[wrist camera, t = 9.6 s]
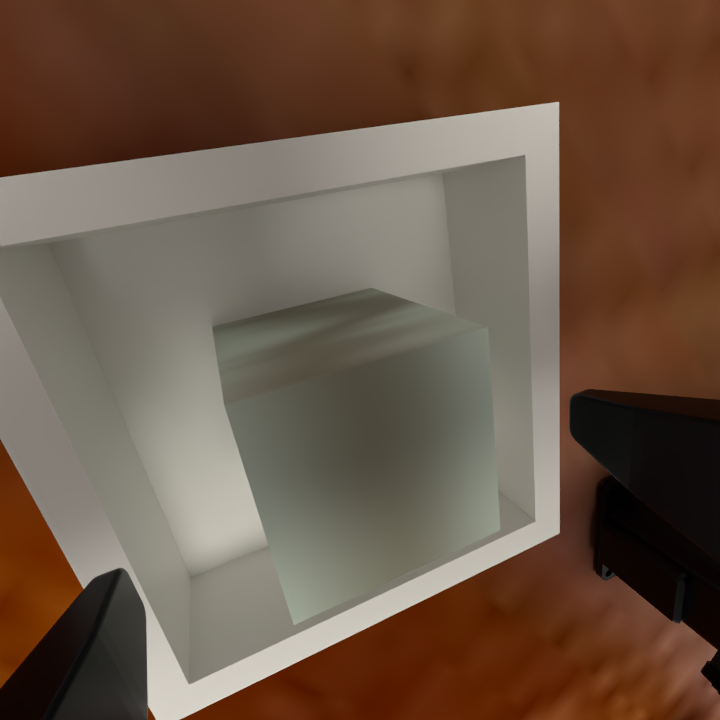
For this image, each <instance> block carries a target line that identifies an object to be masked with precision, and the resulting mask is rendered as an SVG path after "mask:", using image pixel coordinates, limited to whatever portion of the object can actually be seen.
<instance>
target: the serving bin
mask: <svg viewBox="0 0 720 720" xmlns="http://www.w3.org/2000/svg"><path fill="white" fill-rule="evenodd" d="M368 288H374V289H377V290H380V291H383V292H386V293H389V294H392V295H395V296H398V297H400V298H403V299H406V300H409V301H412V302H415V303H418V304H421V305H424V306H427V307H430V308H433V309H436V310H439V311H442V312H445V313H448V314H451V315H454V316H457V317H460V318H463V319H466V320H469V321H472V322H475V323H478V324H481V325H484V326H487V327H488V333H489V350H490V366H491V382H492V399H493V415H494V431H495V448H496V464H497V481H498V497H499V513H500V530H499V531H497V532H495V533H493V534H491V535H489V536H486V537H484V538H482V539H480V540H478V541H476V542H473V543H471V544H469V545H467V546H465V547H462V548H460V549H458V550H456V551H454V552H452V553H449V554H447V555H445V556H443V557H441V558H439V559H436V560H434V561H432V562H430V563H428V564H426V565H423V566H421V567H419V568H417V569H415V570H413V571H410V572H408V573H406V574H404V575H402V576H399V577H397V578H395V579H393V580H391V581H389V582H386V583H384V584H382V585H380V586H378V587H376V588H373V589H371V590H369V591H367V592H365V593H363V594H360V595H358V596H356V597H354V598H352V599H350V600H347V601H345V602H343V603H341V604H339V605H336V606H334V607H332V608H330V609H328V610H326V611H323V612H321V613H319V614H317V615H315V616H313V617H310V618H308V619H306V620H304V621H302V622H300V623H297V624H295V625H294V624H293V621H292V618H291V615H290V611H289V608H288V605H287V602H286V599H285V596H284V592H283V589H282V586H281V583H280V580H279V577H278V574H277V570H276V567H275V564H274V561H273V558H272V555H271V551H270V548H269V545H268V542H267V539H266V536H265V533H264V529H263V526H262V523H261V520H260V517H259V514H258V510H257V507H256V504H255V501H254V498H253V495H252V491H251V488H250V485H249V482H248V479H247V476H246V473H245V469H244V466H243V463H242V460H241V457H240V454H239V450H238V447H237V444H236V441H235V438H234V435H233V432H232V428H231V425H230V422H229V419H228V416H227V413H226V409H225V406H224V401H223V394H222V388H221V381H220V375H219V369H218V362H217V356H216V349H215V343H214V336H213V330H212V327H213V326H217V325H221V324H225V323H229V322H233V321H237V320H241V319H246V318H250V317H254V316H258V315H262V314H266V313H270V312H274V311H278V310H282V309H286V308H291V307H295V306H299V305H303V304H307V303H311V302H315V301H319V300H323V299H327V298H331V297H336V296H340V295H344V294H348V293H352V292H356V291H360V290H364V289H368ZM0 439H1V441H2V443H3V445H4V447H5V448H6V450H7V452H8V454H9V456H10V457H11V459H12V461H13V463H14V465H15V466H16V468H17V470H18V472H19V474H20V475H21V477H22V479H23V481H24V483H25V484H26V486H27V488H28V490H29V492H30V493H31V495H32V497H33V499H34V501H35V502H36V504H37V506H38V508H39V510H40V511H41V513H42V515H43V517H44V519H45V520H46V522H47V524H48V526H49V528H50V529H51V531H52V533H53V535H54V537H55V538H56V540H57V542H58V544H59V546H60V547H61V549H62V551H63V553H64V555H65V556H66V558H67V560H68V562H69V564H70V565H71V567H72V569H73V571H74V573H75V574H76V576H77V578H78V580H79V582H80V583H81V585H82V587H83V589H84V588H85V587H86V586H87V585H88V584H89V583H90V581H91V580H92V579H93V578H95V577H96V576H99V575H101V574H104V573H106V572H109V571H112V570H114V569H117V568H124V569H125V570H126V571H127V572H128V574H129V576H130V578H131V580H132V582H133V584H134V586H135V588H136V590H137V592H138V594H139V596H140V598H141V600H142V602H143V604H144V608H145V612H146V633H147V689H148V706H149V708H150V710H151V711H152V713H153V715H154V717H155V719H156V720H180V719H182V718H184V717H186V716H188V715H190V714H192V713H194V712H196V711H198V710H200V709H202V708H204V707H206V706H208V705H211V704H213V703H215V702H217V701H219V700H221V699H223V698H225V697H227V696H229V695H231V694H233V693H235V692H237V691H239V690H241V689H243V688H245V687H247V686H249V685H251V684H253V683H255V682H257V681H259V680H262V679H264V678H266V677H268V676H270V675H272V674H274V673H276V672H278V671H280V670H282V669H284V668H286V667H288V666H290V665H292V664H294V663H296V662H298V661H300V660H302V659H304V658H306V657H308V656H310V655H313V654H315V653H317V652H319V651H321V650H323V649H325V648H327V647H329V646H331V645H333V644H335V643H337V642H339V641H341V640H343V639H345V638H347V637H349V636H351V635H353V634H355V633H357V632H359V631H361V630H364V629H366V628H368V627H370V626H372V625H374V624H376V623H378V622H380V621H382V620H384V619H386V618H388V617H390V616H392V615H394V614H396V613H398V612H400V611H402V610H404V609H406V608H408V607H410V606H412V605H415V604H417V603H419V602H421V601H423V600H425V599H427V598H429V597H431V596H433V595H435V594H437V593H439V592H441V591H443V590H445V589H447V588H449V587H451V586H453V585H455V584H457V583H459V582H461V581H463V580H466V579H468V578H470V577H472V576H474V575H476V574H478V573H480V572H482V571H484V570H486V569H488V568H490V567H492V566H494V565H496V564H498V563H500V562H502V561H504V560H506V559H508V558H510V557H512V556H514V555H517V554H519V553H521V552H523V551H525V550H527V549H529V548H531V547H533V546H535V545H537V544H539V543H541V542H543V541H545V540H547V539H549V538H551V537H553V536H555V535H557V534H559V533H560V384H559V102H555V103H547V104H540V105H533V106H525V107H518V108H510V109H503V110H496V111H488V112H481V113H474V114H466V115H459V116H451V117H444V118H437V119H429V120H422V121H414V122H407V123H400V124H392V125H385V126H378V127H370V128H363V129H355V130H348V131H341V132H333V133H326V134H318V135H311V136H304V137H296V138H289V139H281V140H274V141H267V142H259V143H252V144H245V145H237V146H230V147H222V148H215V149H208V150H200V151H193V152H185V153H178V154H171V155H163V156H156V157H149V158H141V159H134V160H126V161H119V162H112V163H104V164H97V165H89V166H82V167H75V168H67V169H60V170H53V171H45V172H38V173H30V174H23V175H16V176H8V177H1V178H0Z"/></svg>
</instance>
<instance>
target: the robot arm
mask: <svg viewBox="0 0 720 720" xmlns="http://www.w3.org/2000/svg"><path fill="white" fill-rule="evenodd" d="M569 430H570V433H571V435H572V437H573V438H574V439H575V440H576V441H577V442H578V443H579V444H580V445H581V446H582V447H583V448H584V449H585V450H586V451H587V452H588V453H589V454H591V455H592V456H593V457H594V458H595V459H596V460H597V461H598V462H599V463H600V464H601V465H602V466H603V467H604V468H605V469H606V470H607V471H609V472H610V473H611V474H612V475H613V476H614V477H613V478H611V479H609V480H607V481H605V482H604V483H603V484H602V485H601V487H600V490H599V505H598V530H597V556H596V574H597V575H598V576H600V577H601V578H602V579H603V580H608V579H610V578H612V577H614V576H618V577H619V578H620V579H621V580H622V581H624V582H625V583H626V584H627V585H629V586H630V587H631V588H632V589H633V590H635V591H636V592H637V593H638V594H639V595H641V596H642V597H643V598H644V599H645V600H647V601H648V602H649V603H650V604H652V605H653V606H654V607H655V608H656V609H658V610H659V611H660V612H661V613H662V614H664V615H665V616H666V617H667V618H668V619H670V620H671V621H673V622H675V623H680V622H682V621H683V622H684V623H685V624H686V625H688V626H689V627H690V628H691V629H692V630H694V631H695V632H696V633H697V634H699V635H700V636H701V637H702V638H704V639H705V640H706V641H707V642H709V643H710V644H711V645H712V646H714V647H715V648H716V649H717V650H718V651H717V652H716V654H715V655H714V657H713V658H712V660H711V661H707V662H706V664H705V665H704V667H703V668H702V670H701V673H702V674H703V675H704V676H705V677H706V678H707V679H708V680H709V681H710V682H711V683H712V686H713V687H714V688H715V689H716V690H717V691H718V693H719V695H720V400H715V399H703V398H691V397H679V396H667V395H655V394H643V393H631V392H619V391H607V390H595V389H588V390H584V391H581V392H579V393H576V394H574V395H573V396H572V397H571V399H570V402H569ZM0 720H148V689H147V633H146V612H145V608H144V604H143V602H142V600H141V598H140V596H139V594H138V592H137V590H136V588H135V586H134V584H133V582H132V580H131V578H130V576H129V574H128V572H127V571H126V570H125V569H124V568H117V569H114V570H112V571H109V572H106V573H104V574H101V575H99V576H96V577H95V578H93V579H92V580H91V581H90V583H89V584H88V585H87V586H86V587H85V588H84V590H83V591H82V592H81V593H80V594H79V596H78V597H77V598H76V599H75V600H74V602H73V603H72V604H71V605H70V606H69V608H68V609H67V610H66V611H65V612H64V613H63V615H62V616H61V617H60V618H59V619H58V621H57V622H56V623H55V624H54V625H53V627H52V628H51V629H50V630H49V631H48V633H47V634H46V635H45V636H44V637H43V638H42V640H41V641H40V642H39V643H38V644H37V646H36V647H35V648H34V649H33V650H32V652H31V653H30V654H29V655H28V656H27V657H26V659H25V660H24V661H23V662H22V663H21V665H20V666H19V667H18V668H17V669H16V671H15V672H14V673H13V674H12V675H11V677H10V678H9V679H8V680H7V681H6V682H5V684H4V685H3V686H2V687H1V688H0Z"/></svg>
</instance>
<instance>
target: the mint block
mask: <svg viewBox="0 0 720 720" xmlns="http://www.w3.org/2000/svg"><path fill="white" fill-rule="evenodd" d="M212 330H213V336H214V343H215V349H216V356H217V362H218V369H219V375H220V381H221V388H222V394H223V401H224V406H225V409H226V413H227V416H228V419H229V422H230V425H231V428H232V432H233V435H234V438H235V441H236V444H237V447H238V450H239V454H240V457H241V460H242V463H243V466H244V469H245V473H246V476H247V479H248V482H249V485H250V488H251V491H252V495H253V498H254V501H255V504H256V507H257V510H258V514H259V517H260V520H261V523H262V526H263V529H264V533H265V536H266V539H267V542H268V545H269V548H270V551H271V555H272V558H273V561H274V564H275V567H276V570H277V574H278V577H279V580H280V583H281V586H282V589H283V592H284V596H285V599H286V602H287V605H288V608H289V611H290V615H291V618H292V621H293V624H294V625H295V624H297V623H300V622H302V621H304V620H306V619H308V618H310V617H313V616H315V615H317V614H319V613H321V612H323V611H326V610H328V609H330V608H332V607H334V606H336V605H339V604H341V603H343V602H345V601H347V600H350V599H352V598H354V597H356V596H358V595H360V594H363V593H365V592H367V591H369V590H371V589H373V588H376V587H378V586H380V585H382V584H384V583H386V582H389V581H391V580H393V579H395V578H397V577H399V576H402V575H404V574H406V573H408V572H410V571H413V570H415V569H417V568H419V567H421V566H423V565H426V564H428V563H430V562H432V561H434V560H436V559H439V558H441V557H443V556H445V555H447V554H449V553H452V552H454V551H456V550H458V549H460V548H462V547H465V546H467V545H469V544H471V543H473V542H476V541H478V540H480V539H482V538H484V537H486V536H489V535H491V534H493V533H495V532H497V531H499V530H500V513H499V497H498V481H497V464H496V448H495V431H494V415H493V399H492V382H491V366H490V350H489V333H488V327H487V326H484V325H481V324H478V323H475V322H472V321H469V320H466V319H463V318H460V317H457V316H454V315H451V314H448V313H445V312H442V311H439V310H436V309H433V308H430V307H427V306H424V305H421V304H418V303H415V302H412V301H409V300H406V299H403V298H400V297H398V296H395V295H392V294H389V293H386V292H383V291H380V290H377V289H374V288H368V289H364V290H360V291H356V292H352V293H348V294H344V295H340V296H336V297H331V298H327V299H323V300H319V301H315V302H311V303H307V304H303V305H299V306H295V307H291V308H286V309H282V310H278V311H274V312H270V313H266V314H262V315H258V316H254V317H250V318H246V319H241V320H237V321H233V322H229V323H225V324H221V325H217V326H213V327H212Z"/></svg>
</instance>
